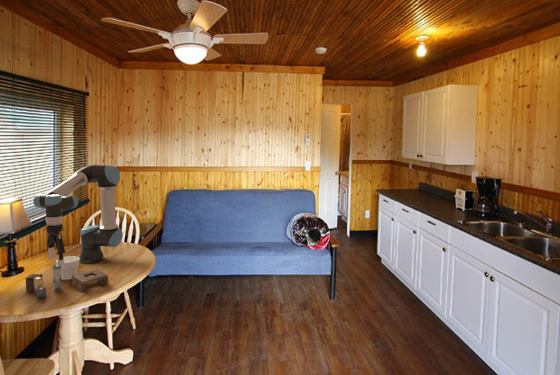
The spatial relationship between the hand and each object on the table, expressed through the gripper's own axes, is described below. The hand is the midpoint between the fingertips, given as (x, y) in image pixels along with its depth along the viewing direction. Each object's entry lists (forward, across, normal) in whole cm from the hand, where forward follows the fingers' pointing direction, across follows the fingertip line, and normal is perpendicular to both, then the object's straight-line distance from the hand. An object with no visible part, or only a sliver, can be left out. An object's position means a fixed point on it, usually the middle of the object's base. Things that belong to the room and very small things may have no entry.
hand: (56, 262), depth 205 cm
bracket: (+16, +5, +15) cm, 23 cm away
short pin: (+16, +4, -9) cm, 19 cm away
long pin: (+16, 0, 0) cm, 16 cm away
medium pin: (+16, -4, -8) cm, 18 cm away
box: (+16, -11, -8) cm, 21 cm away
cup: (+16, -16, +11) cm, 25 cm away
